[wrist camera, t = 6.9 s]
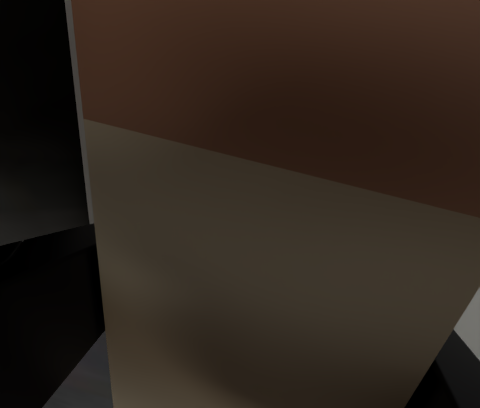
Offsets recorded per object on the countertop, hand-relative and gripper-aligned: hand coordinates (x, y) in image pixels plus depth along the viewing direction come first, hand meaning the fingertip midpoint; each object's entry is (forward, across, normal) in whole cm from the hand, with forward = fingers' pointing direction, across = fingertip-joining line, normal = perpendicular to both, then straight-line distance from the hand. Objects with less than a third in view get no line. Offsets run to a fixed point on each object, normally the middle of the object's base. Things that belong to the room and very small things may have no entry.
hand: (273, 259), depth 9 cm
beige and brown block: (+1, 0, 0) cm, 1 cm away
